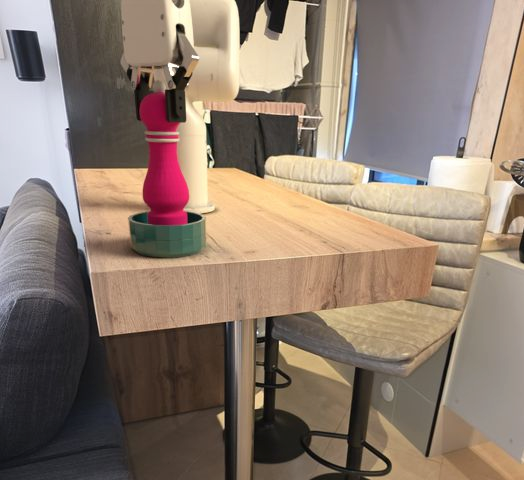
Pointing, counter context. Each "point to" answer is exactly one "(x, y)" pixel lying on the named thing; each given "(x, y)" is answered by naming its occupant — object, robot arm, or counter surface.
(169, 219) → the pepper mill
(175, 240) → the bowl
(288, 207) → the counter surface
